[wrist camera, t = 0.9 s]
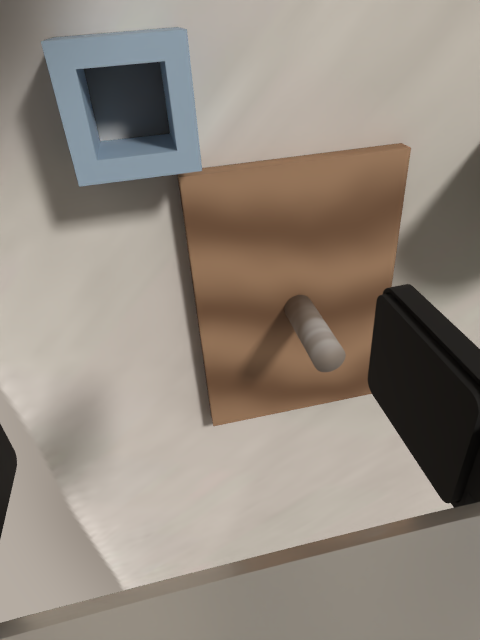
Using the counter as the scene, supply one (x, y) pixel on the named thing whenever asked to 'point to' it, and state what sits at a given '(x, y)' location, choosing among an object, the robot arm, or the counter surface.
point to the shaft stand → (291, 274)
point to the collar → (78, 117)
